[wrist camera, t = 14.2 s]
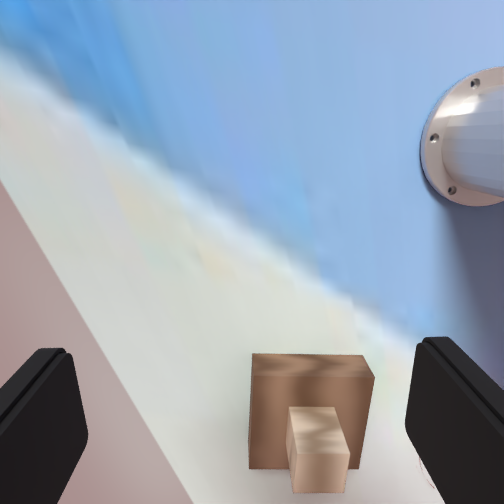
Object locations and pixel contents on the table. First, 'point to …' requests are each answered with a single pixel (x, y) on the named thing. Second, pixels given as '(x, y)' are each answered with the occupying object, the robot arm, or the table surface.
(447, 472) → the robot arm
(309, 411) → the maple block
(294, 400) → the walnut base
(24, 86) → the table surface
